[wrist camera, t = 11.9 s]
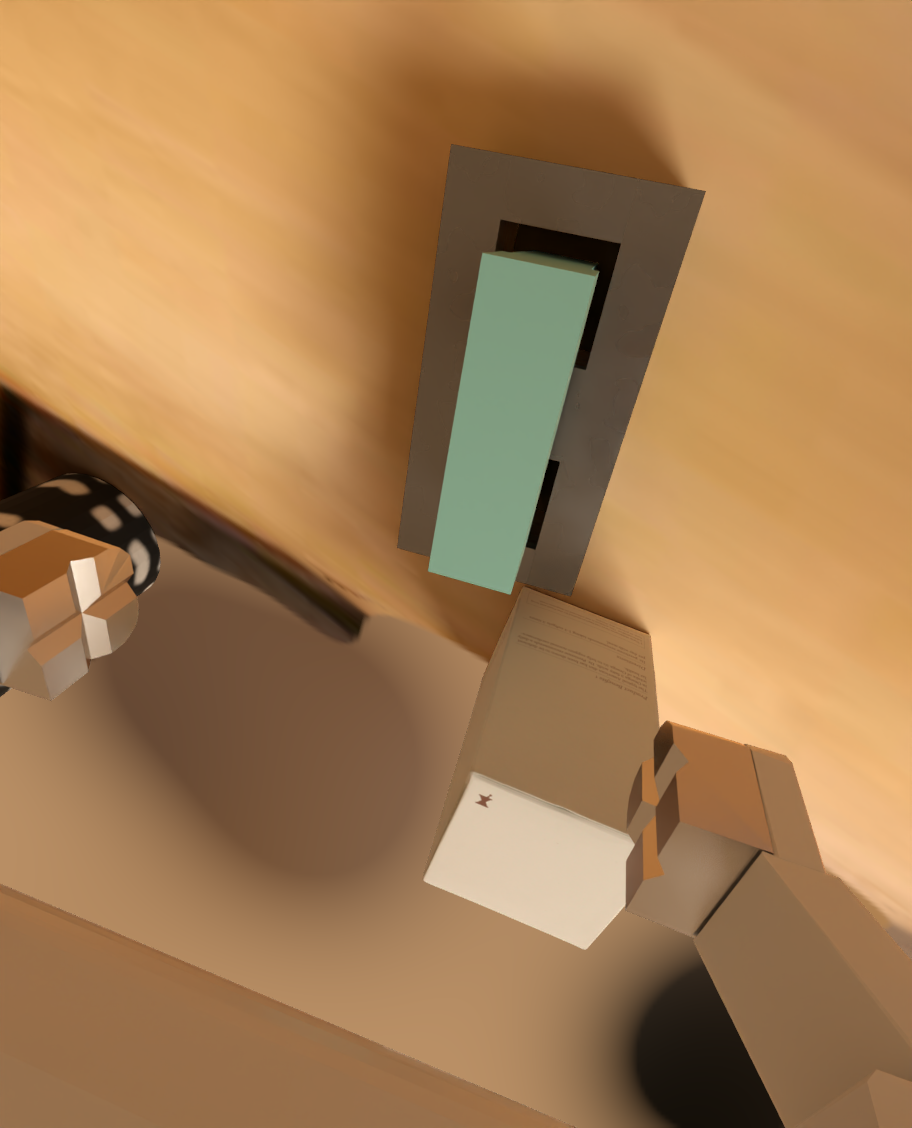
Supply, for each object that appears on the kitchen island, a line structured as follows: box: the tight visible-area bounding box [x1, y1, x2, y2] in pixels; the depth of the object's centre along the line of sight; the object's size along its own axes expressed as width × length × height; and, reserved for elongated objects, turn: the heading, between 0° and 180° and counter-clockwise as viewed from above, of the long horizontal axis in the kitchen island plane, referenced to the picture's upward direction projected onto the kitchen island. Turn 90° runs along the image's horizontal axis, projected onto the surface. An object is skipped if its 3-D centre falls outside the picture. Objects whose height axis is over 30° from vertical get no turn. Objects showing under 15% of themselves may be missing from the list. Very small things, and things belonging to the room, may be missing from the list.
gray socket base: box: [397, 144, 706, 596], centre depth 23 cm, size 8×15×4 cm, turn 170°
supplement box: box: [423, 587, 659, 949], centre depth 26 cm, size 7×7×13 cm
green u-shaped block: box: [428, 250, 599, 595], centre depth 21 cm, size 3×10×9 cm, turn 170°
